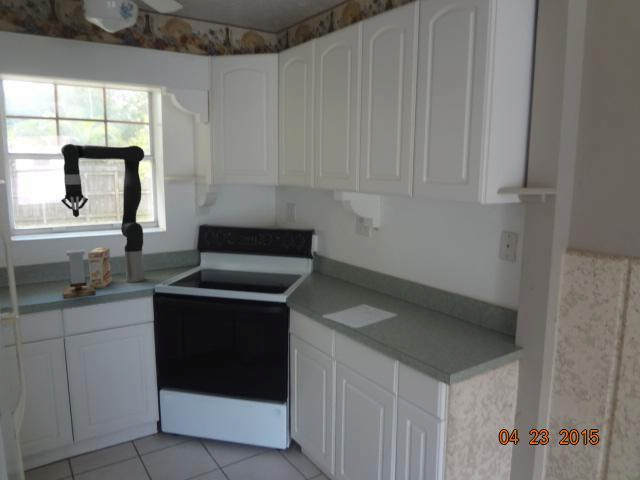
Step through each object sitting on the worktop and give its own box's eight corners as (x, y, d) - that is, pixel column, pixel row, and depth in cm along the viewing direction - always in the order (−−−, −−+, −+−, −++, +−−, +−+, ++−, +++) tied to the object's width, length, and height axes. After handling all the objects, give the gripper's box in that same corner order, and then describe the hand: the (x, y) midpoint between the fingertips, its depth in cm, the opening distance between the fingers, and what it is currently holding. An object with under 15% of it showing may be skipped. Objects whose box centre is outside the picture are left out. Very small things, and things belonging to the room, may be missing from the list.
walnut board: (93, 288, 245) (93, 284, 245) (95, 294, 233) (94, 290, 233) (63, 291, 238) (63, 288, 238) (63, 298, 226) (63, 294, 226)
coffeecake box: (104, 287, 247) (101, 251, 243) (90, 288, 245) (87, 252, 242) (112, 281, 261) (109, 247, 258) (99, 281, 260) (96, 247, 257)
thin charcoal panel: (85, 282, 240) (85, 279, 240) (86, 285, 234) (86, 282, 233) (70, 284, 236) (69, 281, 236) (70, 287, 230) (70, 284, 230)
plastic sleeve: (86, 279, 240) (84, 249, 238) (87, 282, 233) (84, 251, 231) (69, 281, 236) (66, 250, 234) (69, 284, 230) (66, 253, 227)
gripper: (86, 182, 245) (89, 215, 248) (58, 183, 238) (61, 217, 241) (87, 183, 238) (90, 216, 241) (58, 184, 232) (62, 218, 235)
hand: (76, 216), depth 241 cm, fingers closed
